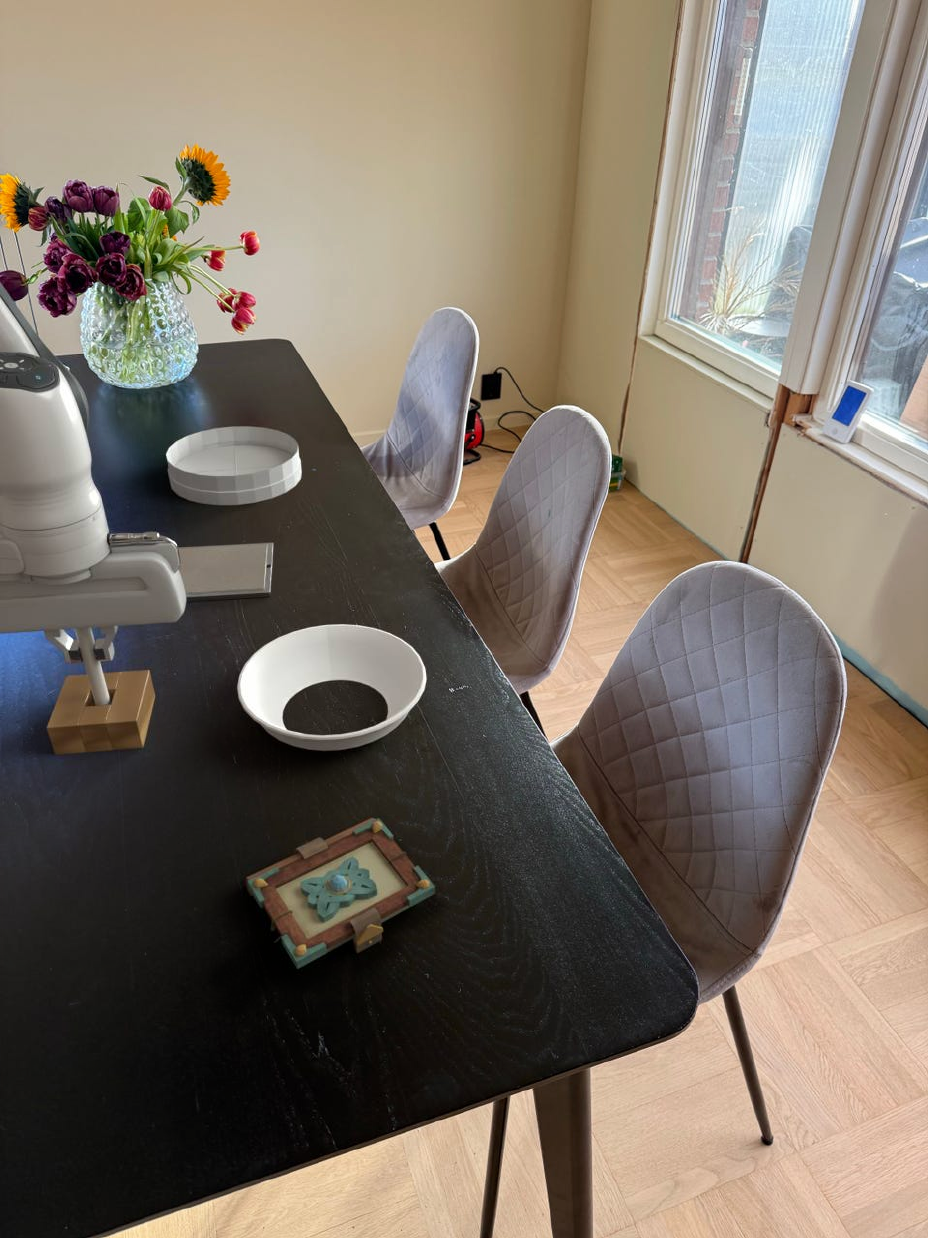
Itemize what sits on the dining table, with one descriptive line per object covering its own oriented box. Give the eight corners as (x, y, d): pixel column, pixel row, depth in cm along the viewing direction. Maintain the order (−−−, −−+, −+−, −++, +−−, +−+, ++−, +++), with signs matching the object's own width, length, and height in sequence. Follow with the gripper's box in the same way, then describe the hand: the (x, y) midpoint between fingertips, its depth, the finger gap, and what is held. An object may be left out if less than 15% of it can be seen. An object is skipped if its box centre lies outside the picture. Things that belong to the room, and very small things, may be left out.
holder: (58, 765, 87) (46, 727, 85) (76, 711, 94) (66, 675, 92) (145, 757, 88) (136, 720, 86) (157, 705, 96) (149, 669, 93)
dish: (166, 510, 136) (161, 481, 133) (172, 456, 154) (167, 430, 151) (307, 499, 140) (305, 470, 138) (297, 448, 158) (294, 422, 155)
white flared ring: (243, 797, 84) (235, 749, 81) (244, 677, 100) (237, 632, 97) (441, 772, 88) (442, 724, 84) (411, 660, 104) (411, 616, 100)
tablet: (115, 606, 112) (113, 599, 112) (133, 554, 124) (131, 548, 123) (270, 597, 115) (269, 590, 114) (273, 547, 127) (273, 541, 126)
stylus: (96, 718, 89) (70, 623, 83) (99, 709, 90) (73, 614, 84) (111, 717, 89) (86, 622, 83) (114, 708, 91) (89, 613, 84)
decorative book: (191, 926, 72) (181, 886, 69) (373, 836, 80) (371, 798, 78) (256, 1054, 63) (248, 1015, 60) (453, 938, 71) (455, 899, 69)
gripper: (179, 515, 82) (200, 634, 90) (-48, 526, 80) (-7, 648, 87) (170, 547, 77) (194, 669, 85) (-73, 560, 74) (-26, 685, 82)
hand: (90, 658), depth 86 cm, fingers closed on stylus, 1 cm apart
